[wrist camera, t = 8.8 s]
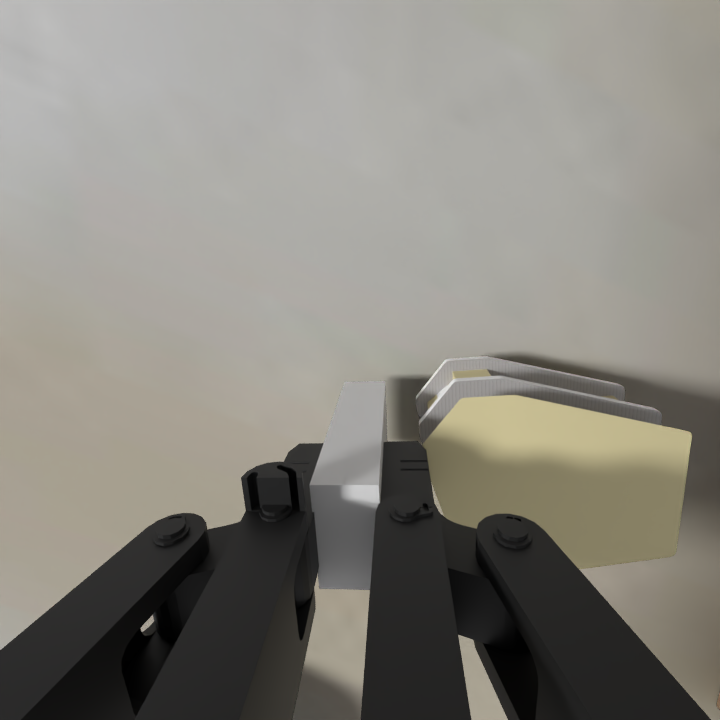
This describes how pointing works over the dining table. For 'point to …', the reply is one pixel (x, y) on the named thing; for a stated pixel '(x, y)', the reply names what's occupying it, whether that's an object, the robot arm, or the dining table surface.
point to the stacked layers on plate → (554, 458)
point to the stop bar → (718, 702)
